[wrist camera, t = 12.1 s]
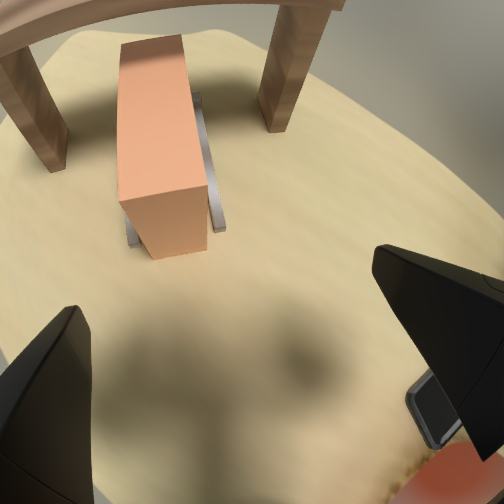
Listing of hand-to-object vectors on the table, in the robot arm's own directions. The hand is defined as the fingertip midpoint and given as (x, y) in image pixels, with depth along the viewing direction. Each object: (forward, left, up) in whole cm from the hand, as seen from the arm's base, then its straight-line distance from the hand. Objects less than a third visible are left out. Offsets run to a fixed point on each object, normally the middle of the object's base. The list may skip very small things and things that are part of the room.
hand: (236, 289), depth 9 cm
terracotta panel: (+10, +5, -14) cm, 18 cm away
